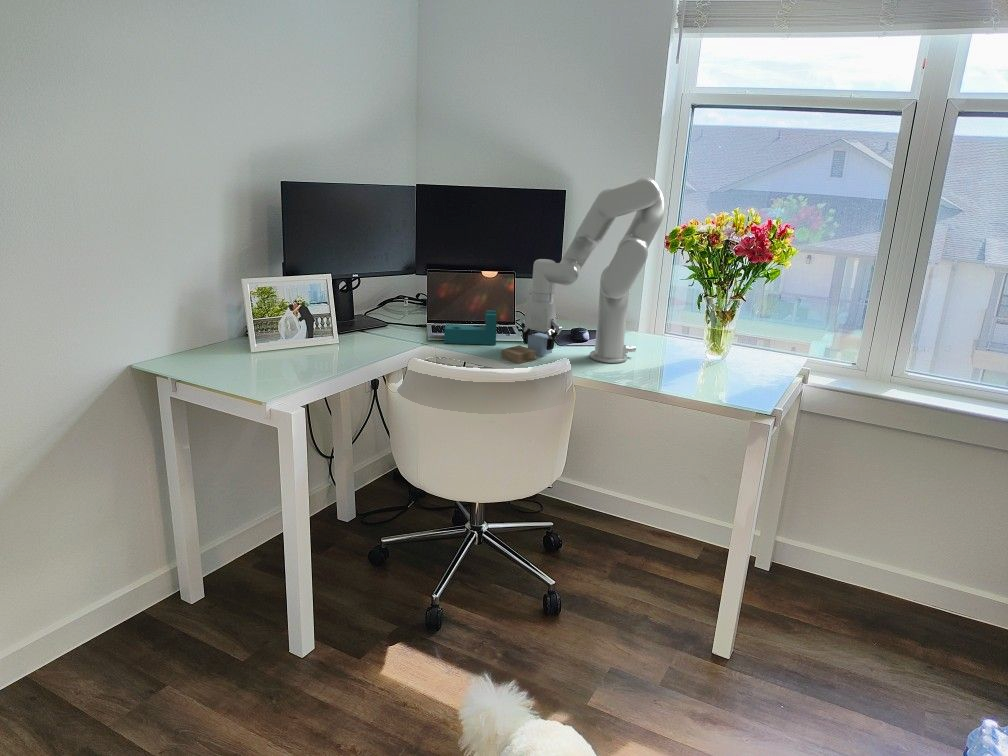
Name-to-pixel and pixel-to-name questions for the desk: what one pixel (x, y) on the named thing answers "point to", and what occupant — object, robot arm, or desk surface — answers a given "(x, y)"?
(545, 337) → the blue cube
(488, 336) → the teal l-shaped bracket
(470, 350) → the desk surface
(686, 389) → the desk surface
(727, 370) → the desk surface
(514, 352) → the walnut base
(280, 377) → the desk surface
